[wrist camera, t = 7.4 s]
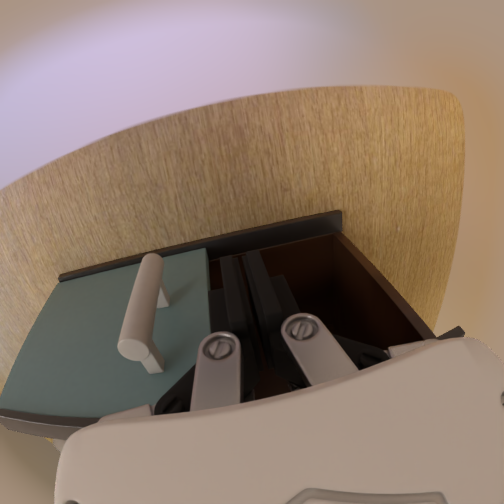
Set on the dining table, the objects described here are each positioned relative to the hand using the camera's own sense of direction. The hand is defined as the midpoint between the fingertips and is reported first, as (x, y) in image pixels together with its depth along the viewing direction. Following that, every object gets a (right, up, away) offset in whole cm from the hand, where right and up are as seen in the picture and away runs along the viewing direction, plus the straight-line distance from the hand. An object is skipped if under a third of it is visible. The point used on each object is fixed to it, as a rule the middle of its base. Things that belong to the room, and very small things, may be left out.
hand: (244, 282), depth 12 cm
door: (-11, +1, +9) cm, 14 cm away
